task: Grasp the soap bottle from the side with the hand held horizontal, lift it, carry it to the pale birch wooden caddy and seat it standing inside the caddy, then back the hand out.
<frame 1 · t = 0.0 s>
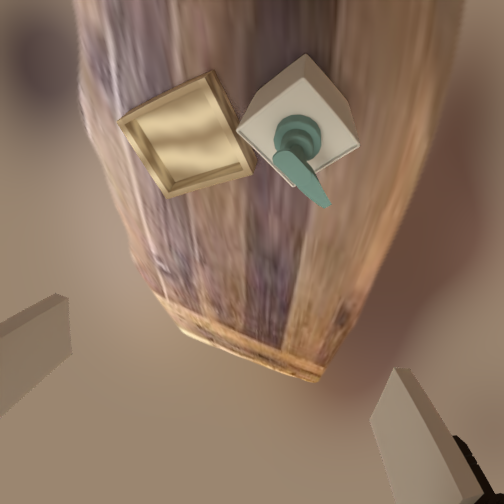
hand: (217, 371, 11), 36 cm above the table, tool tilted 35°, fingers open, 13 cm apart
caddy: (191, 132, 43), on the table
soap bottle: (303, 96, 36), on the table
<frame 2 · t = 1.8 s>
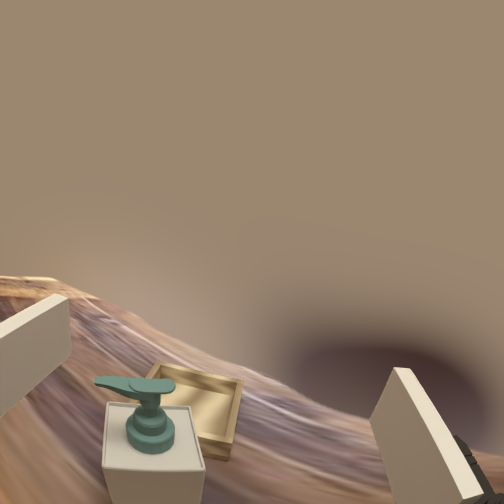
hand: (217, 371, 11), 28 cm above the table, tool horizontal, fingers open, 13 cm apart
caddy: (186, 415, 42), on the table
soap bottle: (153, 500, 26), on the table
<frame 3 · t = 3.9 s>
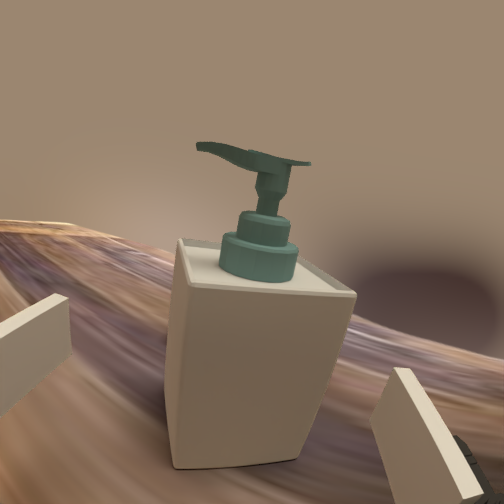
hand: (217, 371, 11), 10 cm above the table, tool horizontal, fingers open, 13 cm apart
soap bottle: (223, 427, 21), on the table
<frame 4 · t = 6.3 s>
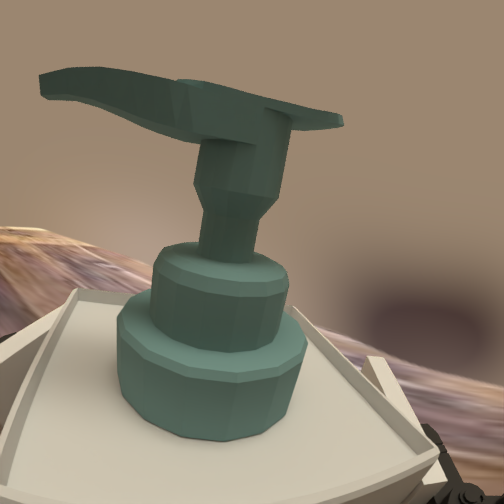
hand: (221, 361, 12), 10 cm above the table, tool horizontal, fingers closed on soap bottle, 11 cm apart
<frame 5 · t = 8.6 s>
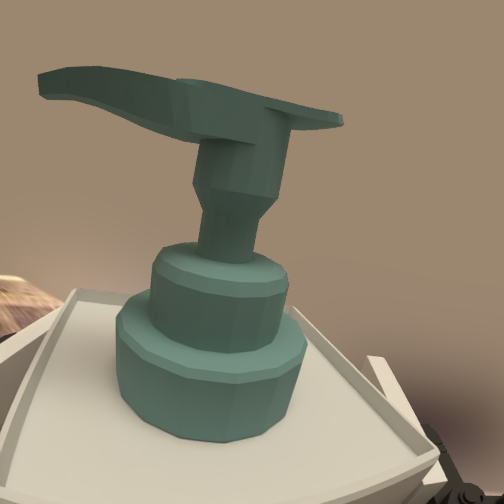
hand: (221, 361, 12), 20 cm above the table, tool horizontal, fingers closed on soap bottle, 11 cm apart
when the fingers open (13 cm above the table, at t = 10.8 s): soap bottle drops 1 cm, resting on caddy.
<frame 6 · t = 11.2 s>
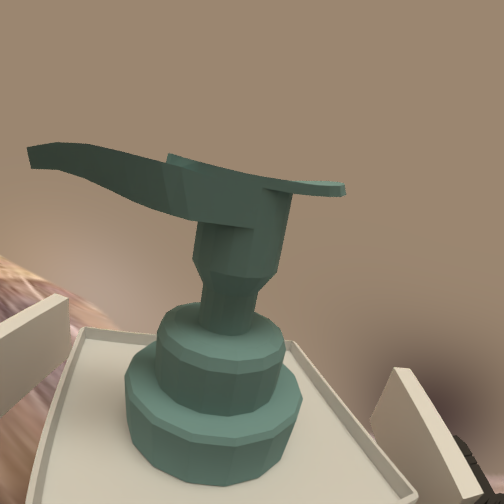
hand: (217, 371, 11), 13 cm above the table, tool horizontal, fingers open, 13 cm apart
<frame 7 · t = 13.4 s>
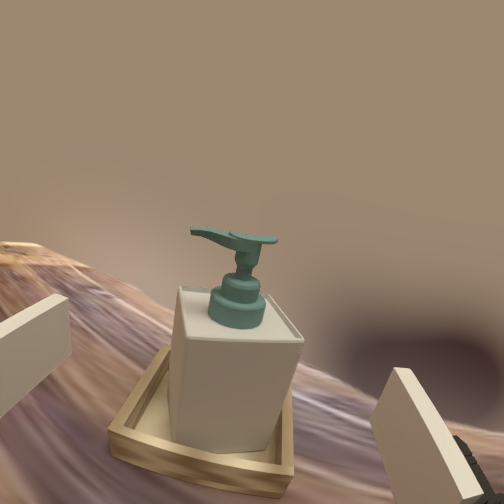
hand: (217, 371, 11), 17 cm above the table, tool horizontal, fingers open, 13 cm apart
caddy: (209, 427, 28), on the table
soap bottle: (211, 423, 27), point 1 cm above the table, touching caddy
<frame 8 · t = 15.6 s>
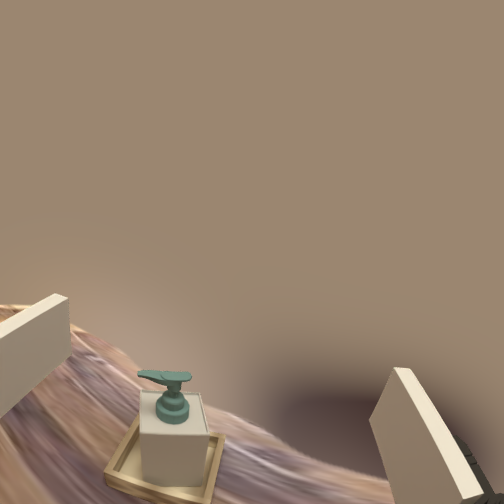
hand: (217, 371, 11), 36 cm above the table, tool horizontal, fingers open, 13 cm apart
caddy: (168, 468, 38), on the table
soap bottle: (169, 466, 38), point 1 cm above the table, touching caddy
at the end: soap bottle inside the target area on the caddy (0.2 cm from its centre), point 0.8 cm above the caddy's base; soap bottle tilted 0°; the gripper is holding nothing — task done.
